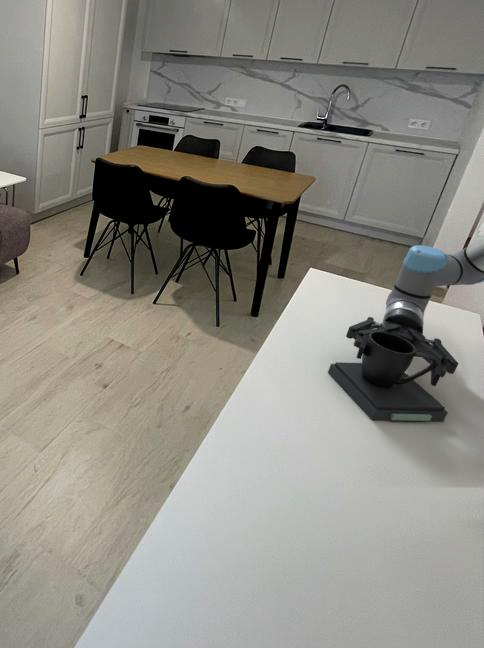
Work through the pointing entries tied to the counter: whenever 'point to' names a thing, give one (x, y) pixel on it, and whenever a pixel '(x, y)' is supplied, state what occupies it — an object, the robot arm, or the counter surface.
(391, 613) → the counter surface
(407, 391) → the scale
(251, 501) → the counter surface
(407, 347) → the mug
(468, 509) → the counter surface
